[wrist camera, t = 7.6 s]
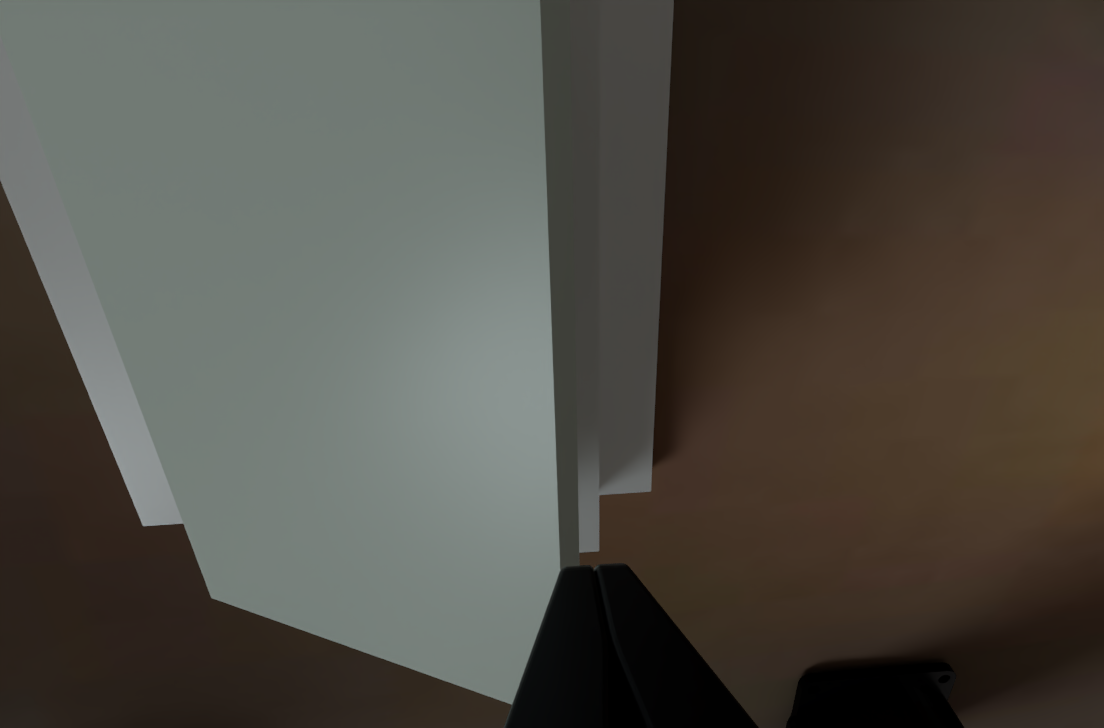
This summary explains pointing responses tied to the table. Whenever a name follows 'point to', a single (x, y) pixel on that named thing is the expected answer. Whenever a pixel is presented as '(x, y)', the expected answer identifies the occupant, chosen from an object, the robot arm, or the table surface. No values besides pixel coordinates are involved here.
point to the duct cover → (337, 297)
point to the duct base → (599, 259)
